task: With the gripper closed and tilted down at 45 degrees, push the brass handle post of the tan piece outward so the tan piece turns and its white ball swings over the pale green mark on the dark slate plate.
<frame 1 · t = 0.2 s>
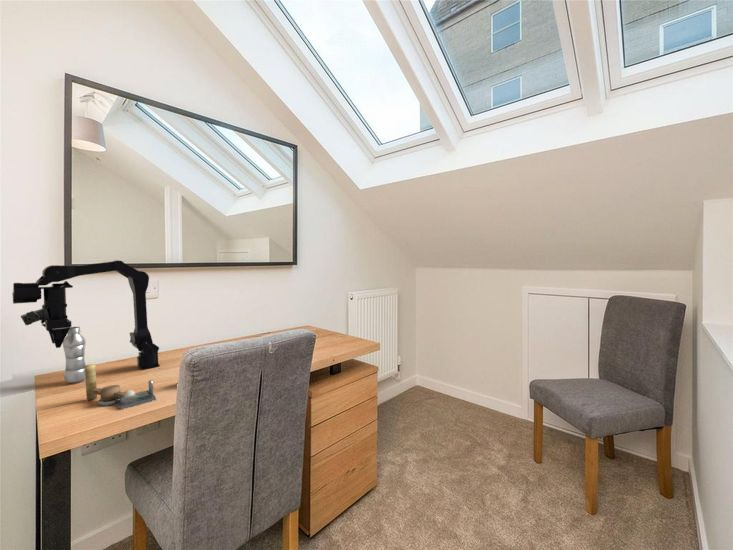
hand: (56, 345, 119), 15 cm above the table, tool pointing down, fingers open, 9 cm apart
plastic bottle: (76, 382, 124), on the table
tan piece: (109, 383, 106), point 6 cm above the table, hinge at 0.0°
level stand: (111, 401, 107), on the table
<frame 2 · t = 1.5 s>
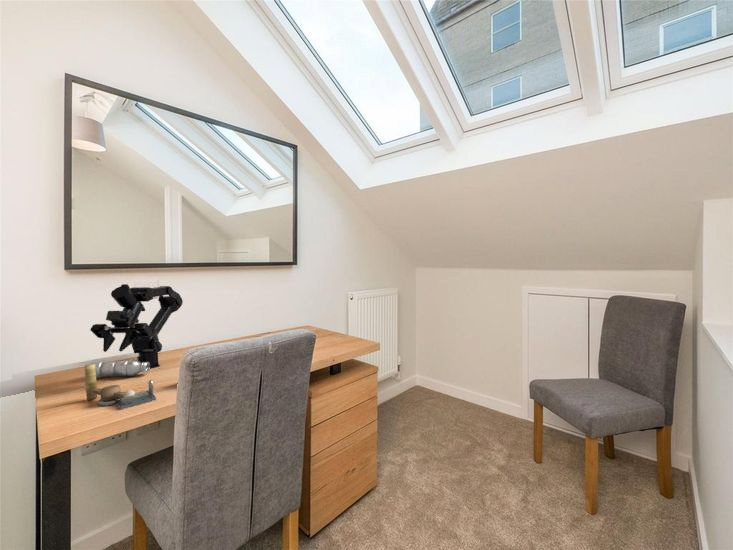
hand: (112, 351, 119), 13 cm above the table, tool tilted 45°, fingers open, 5 cm apart
plastic bottle: (88, 370, 127), point 3 cm above the table
everything else where it was.
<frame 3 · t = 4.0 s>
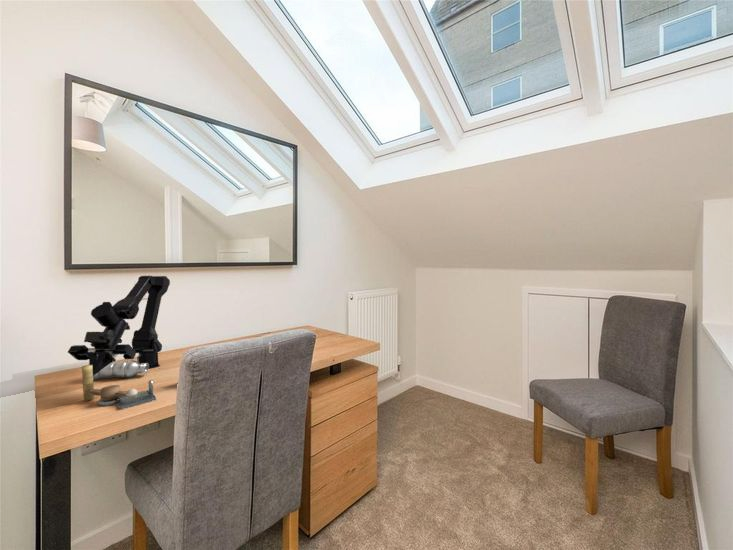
hand: (90, 375, 109), 7 cm above the table, tool tilted 45°, fingers closed, pressing on tan piece
plastic bottle: (86, 371, 126), point 3 cm above the table
tan piece: (109, 383, 106), point 6 cm above the table, hinge at 6.7°, touching gripper
everything else where it was.
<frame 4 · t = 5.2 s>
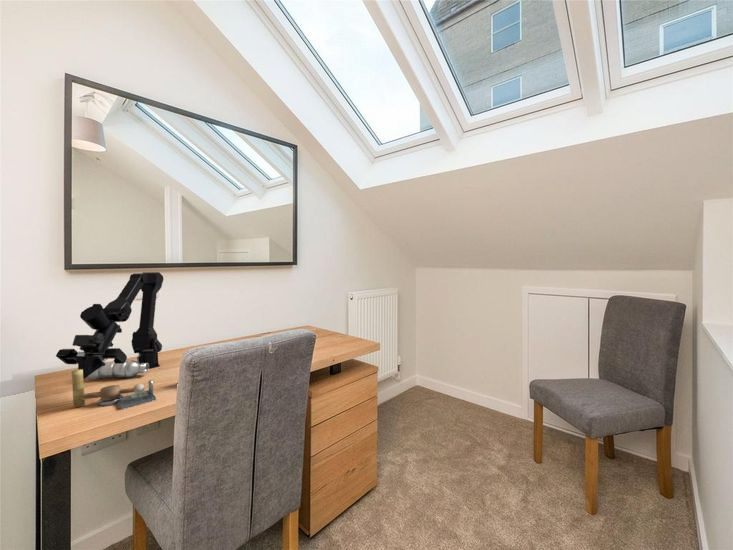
hand: (78, 381, 104), 7 cm above the table, tool tilted 45°, fingers closed, pressing on tan piece
tan piece: (109, 384, 106), point 6 cm above the table, hinge at 37.9°, touching gripper
everything else where it was.
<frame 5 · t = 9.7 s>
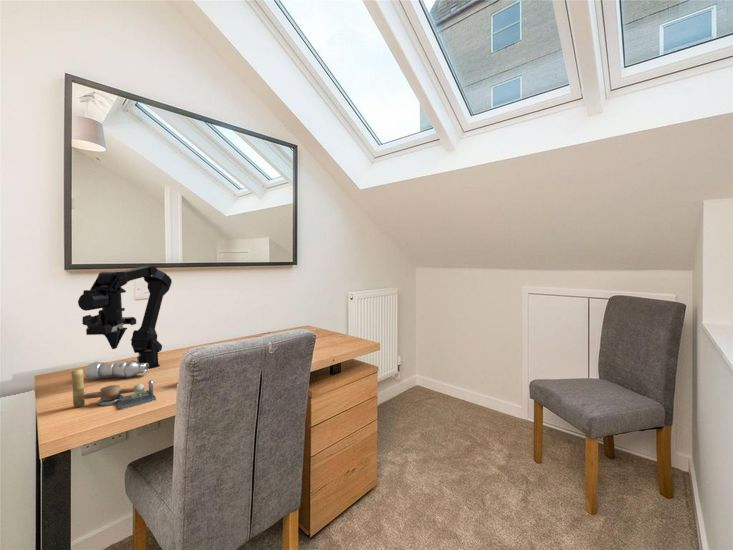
hand: (114, 348, 124), 12 cm above the table, tool pointing down, fingers closed
tan piece: (109, 384, 106), point 6 cm above the table, hinge at 38.1°
everything else where it was.
at the end: tan piece at +38° (first picture: +0°) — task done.
